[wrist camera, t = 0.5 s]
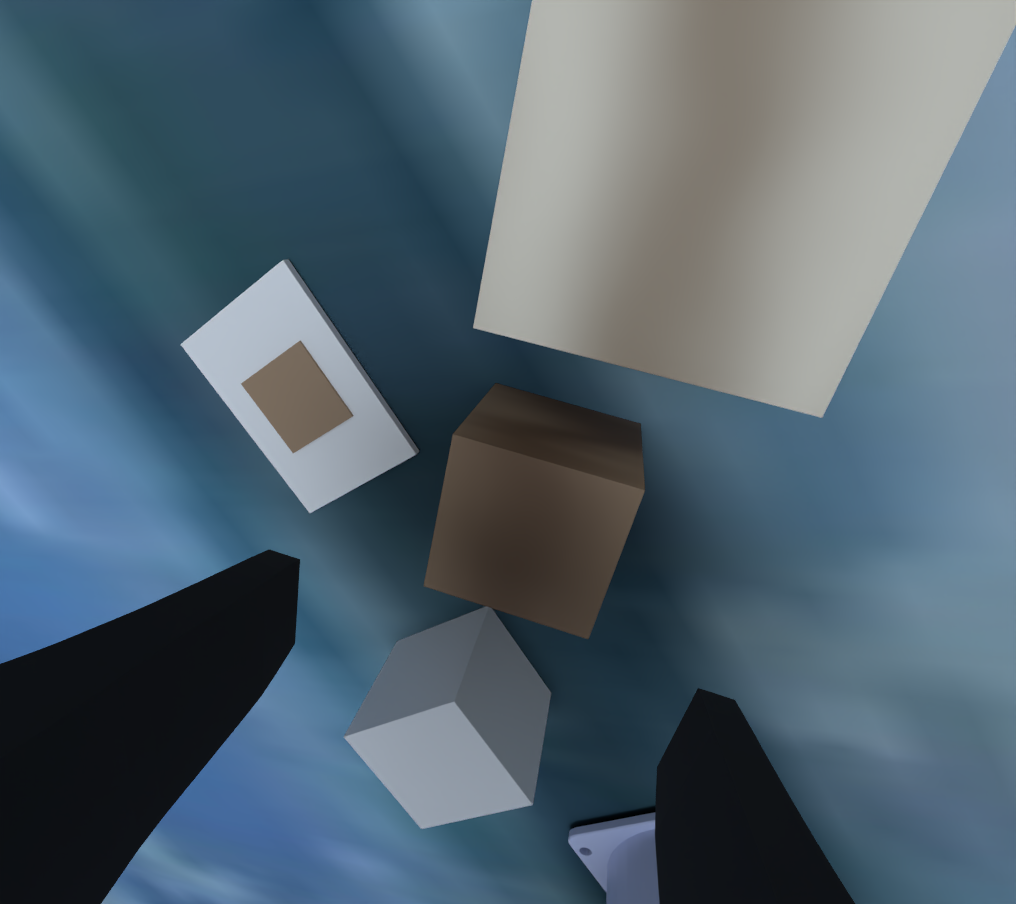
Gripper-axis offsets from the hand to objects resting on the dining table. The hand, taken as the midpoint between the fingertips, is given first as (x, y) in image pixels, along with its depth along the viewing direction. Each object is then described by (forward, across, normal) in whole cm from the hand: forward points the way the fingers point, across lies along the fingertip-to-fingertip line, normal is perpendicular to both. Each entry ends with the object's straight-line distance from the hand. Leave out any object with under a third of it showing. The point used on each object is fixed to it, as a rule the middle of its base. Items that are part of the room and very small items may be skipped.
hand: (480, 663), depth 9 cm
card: (+8, +8, 0) cm, 12 cm away
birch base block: (+9, -2, -8) cm, 12 cm away
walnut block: (+8, 0, 0) cm, 9 cm away
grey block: (+8, +1, +9) cm, 13 cm away
